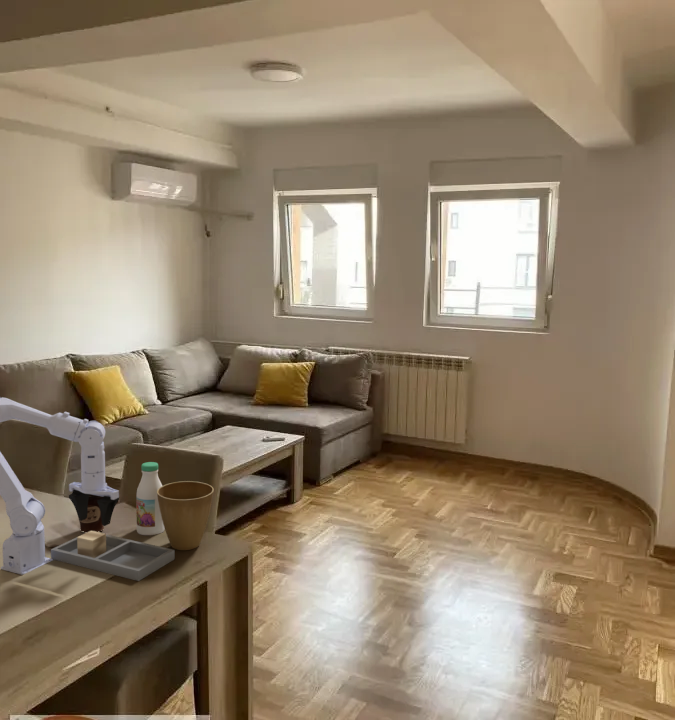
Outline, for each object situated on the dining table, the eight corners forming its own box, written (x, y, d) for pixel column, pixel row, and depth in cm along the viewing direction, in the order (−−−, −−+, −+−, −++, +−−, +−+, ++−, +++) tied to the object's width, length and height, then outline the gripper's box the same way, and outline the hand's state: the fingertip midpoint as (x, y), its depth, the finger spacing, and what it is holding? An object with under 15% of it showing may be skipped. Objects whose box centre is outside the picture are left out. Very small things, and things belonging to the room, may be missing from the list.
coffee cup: (101, 537, 195) (100, 492, 193) (71, 536, 195) (70, 491, 193) (112, 525, 204) (111, 482, 202) (83, 524, 204) (82, 481, 202)
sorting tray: (138, 582, 168) (138, 571, 168) (51, 560, 179) (50, 549, 179) (174, 560, 181) (174, 549, 180) (90, 541, 192) (90, 530, 191)
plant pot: (145, 550, 187) (144, 492, 185) (182, 532, 200) (182, 477, 198) (189, 562, 180) (189, 502, 178) (224, 542, 193) (224, 486, 191)
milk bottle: (153, 524, 205) (153, 458, 202) (170, 531, 200) (169, 463, 197) (131, 532, 199) (130, 463, 196) (147, 539, 194) (146, 469, 192)
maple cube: (92, 559, 179) (92, 540, 179) (77, 555, 181) (77, 537, 181) (106, 552, 184) (105, 533, 183) (91, 548, 186) (91, 530, 185)
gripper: (126, 470, 177) (127, 521, 179) (82, 462, 183) (84, 512, 185) (107, 477, 171) (108, 530, 173) (62, 469, 176) (63, 521, 178)
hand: (94, 521), depth 178 cm, fingers open, 7 cm apart
